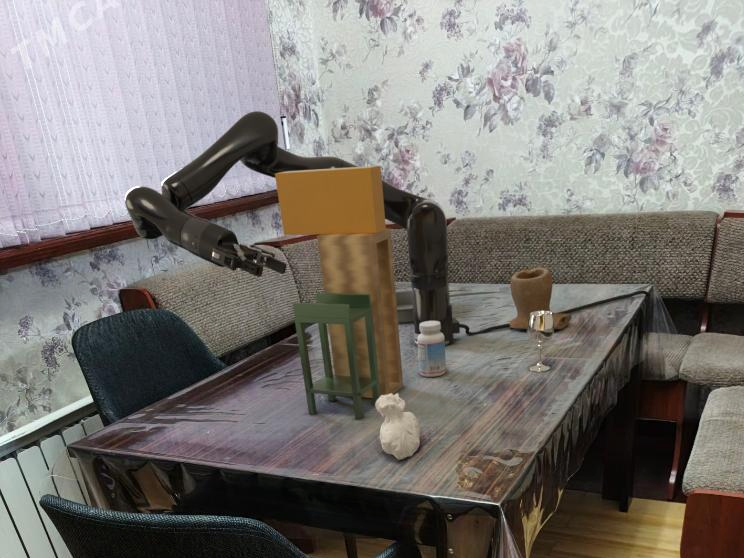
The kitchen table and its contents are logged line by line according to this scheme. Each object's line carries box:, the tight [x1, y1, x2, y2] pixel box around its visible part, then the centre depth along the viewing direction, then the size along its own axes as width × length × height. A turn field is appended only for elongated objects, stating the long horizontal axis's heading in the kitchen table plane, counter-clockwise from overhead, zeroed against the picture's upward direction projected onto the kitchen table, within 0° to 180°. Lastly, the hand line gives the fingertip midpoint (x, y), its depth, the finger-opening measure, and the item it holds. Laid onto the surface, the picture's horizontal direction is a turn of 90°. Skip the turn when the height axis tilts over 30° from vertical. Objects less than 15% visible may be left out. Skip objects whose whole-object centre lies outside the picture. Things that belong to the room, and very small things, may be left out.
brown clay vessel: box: [508, 267, 572, 330], centre depth 181 cm, size 15×12×15 cm
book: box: [274, 165, 387, 236], centre depth 136 cm, size 21×4×11 cm, turn 64°
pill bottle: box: [417, 321, 447, 378], centre depth 157 cm, size 6×6×11 cm
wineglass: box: [526, 310, 555, 372], centre depth 154 cm, size 6×6×12 cm
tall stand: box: [316, 227, 404, 399], centre depth 145 cm, size 12×8×32 cm, turn 64°
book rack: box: [292, 292, 381, 420], centre depth 139 cm, size 12×9×22 cm
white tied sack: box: [374, 392, 421, 461], centre depth 122 cm, size 12×8×11 cm
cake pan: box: [396, 289, 414, 324], centre depth 209 cm, size 25×25×4 cm
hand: (273, 270), depth 143 cm, fingers open, 8 cm apart
